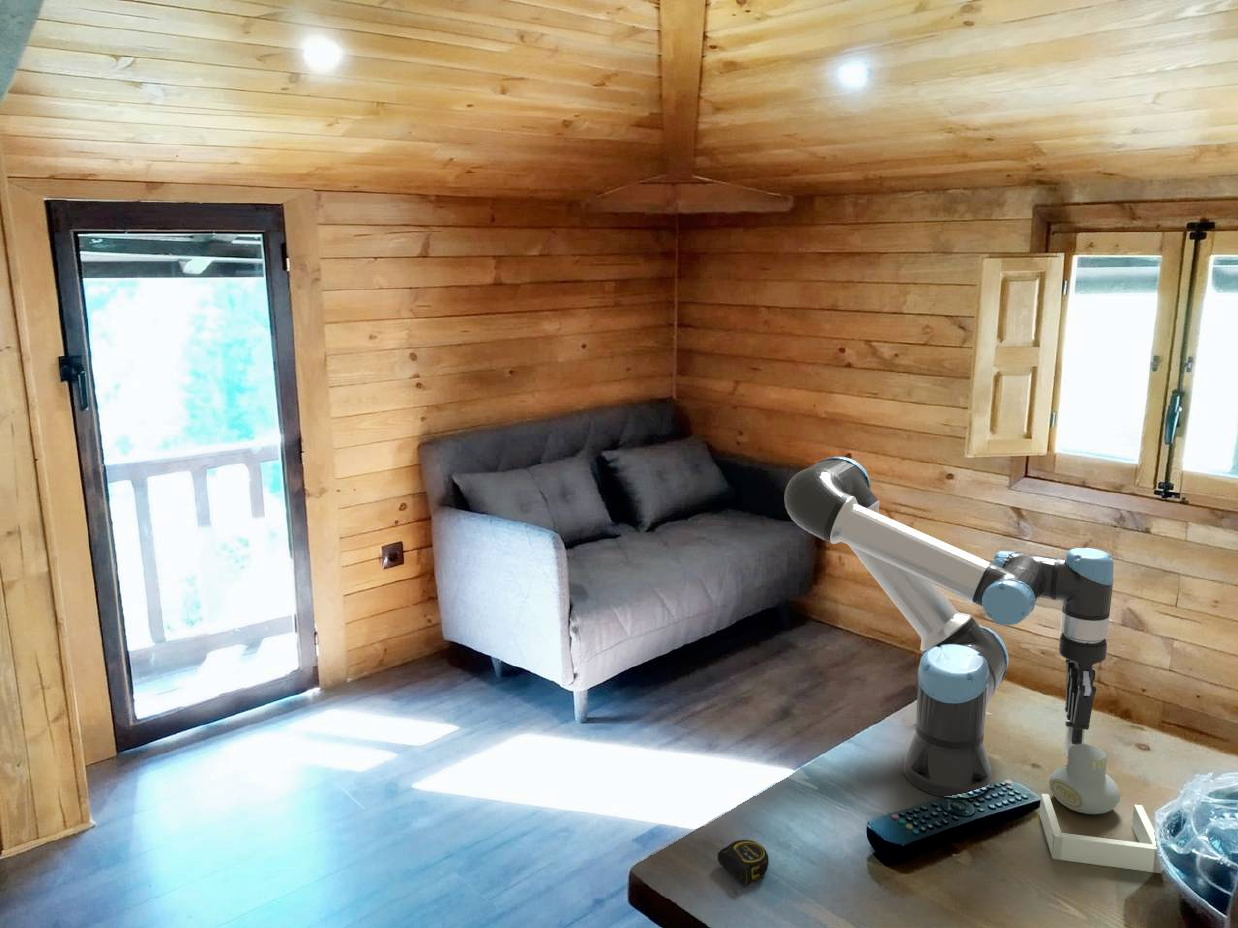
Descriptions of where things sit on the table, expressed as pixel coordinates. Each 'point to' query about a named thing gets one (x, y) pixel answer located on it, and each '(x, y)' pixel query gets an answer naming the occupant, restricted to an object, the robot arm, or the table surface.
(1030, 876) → the table surface
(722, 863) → the tape measure
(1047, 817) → the dock
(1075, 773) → the air freshener
